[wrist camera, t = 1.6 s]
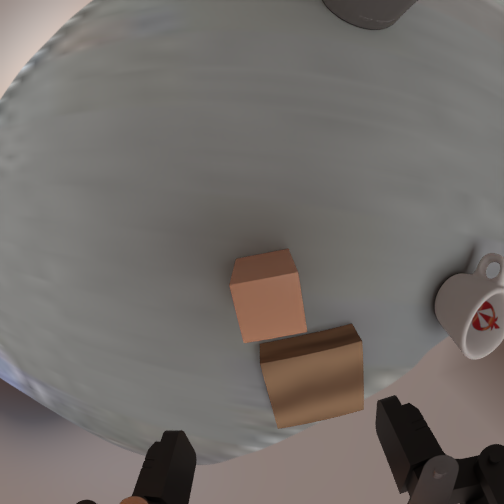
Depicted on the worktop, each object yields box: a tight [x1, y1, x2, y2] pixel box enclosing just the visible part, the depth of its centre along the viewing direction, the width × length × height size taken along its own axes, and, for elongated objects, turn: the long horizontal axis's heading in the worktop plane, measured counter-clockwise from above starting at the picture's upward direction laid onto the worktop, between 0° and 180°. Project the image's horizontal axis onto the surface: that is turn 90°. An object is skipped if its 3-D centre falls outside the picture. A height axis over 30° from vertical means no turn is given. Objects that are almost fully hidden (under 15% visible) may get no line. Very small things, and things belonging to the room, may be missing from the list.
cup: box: [435, 253, 504, 359], centre depth 25 cm, size 11×8×8 cm
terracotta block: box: [229, 249, 307, 343], centre depth 25 cm, size 5×5×7 cm
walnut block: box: [260, 324, 364, 429], centre depth 30 cm, size 10×10×4 cm
